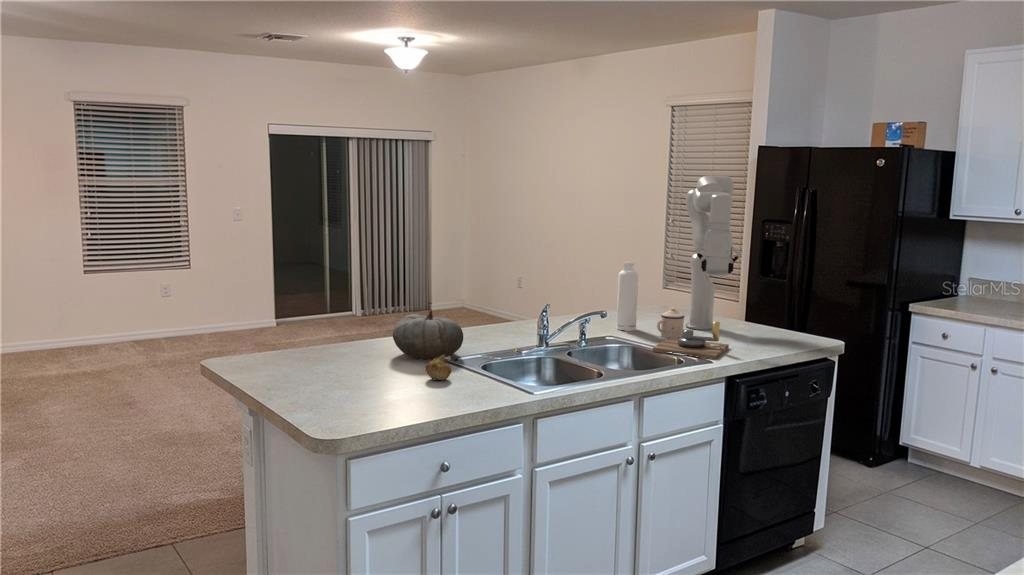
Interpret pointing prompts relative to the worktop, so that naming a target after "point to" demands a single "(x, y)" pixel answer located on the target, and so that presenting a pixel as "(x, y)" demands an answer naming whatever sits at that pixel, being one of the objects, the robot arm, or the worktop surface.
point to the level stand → (691, 348)
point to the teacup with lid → (671, 324)
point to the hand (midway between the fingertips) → (716, 272)
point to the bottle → (627, 297)
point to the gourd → (427, 336)
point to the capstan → (698, 337)
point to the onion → (439, 368)
